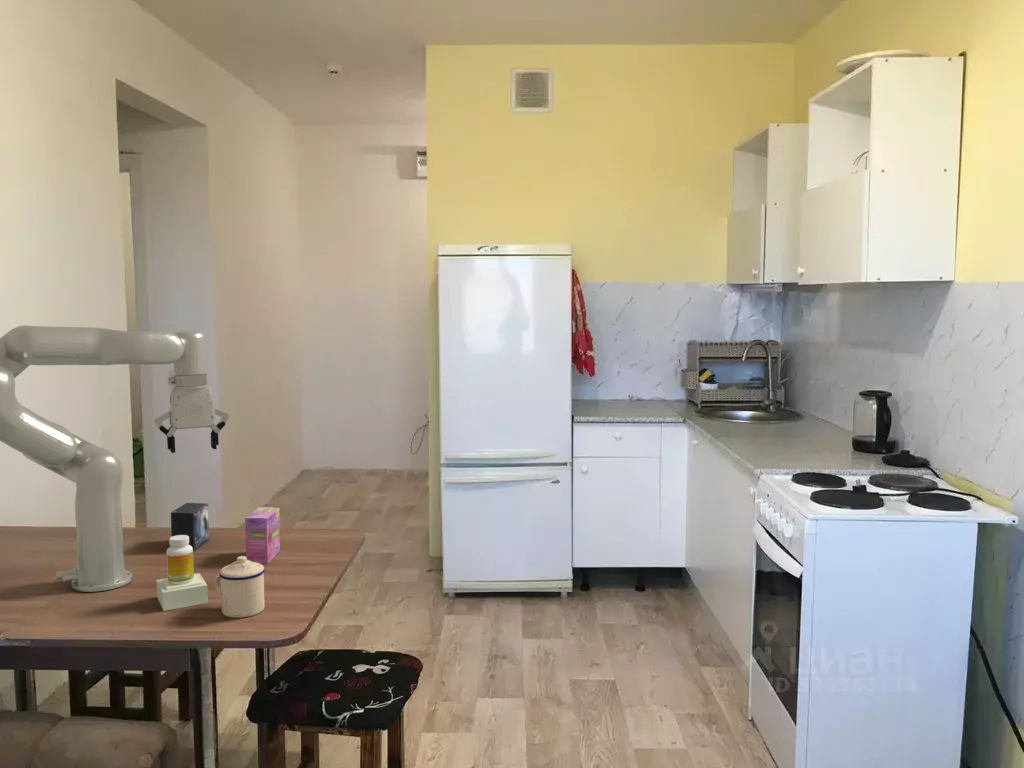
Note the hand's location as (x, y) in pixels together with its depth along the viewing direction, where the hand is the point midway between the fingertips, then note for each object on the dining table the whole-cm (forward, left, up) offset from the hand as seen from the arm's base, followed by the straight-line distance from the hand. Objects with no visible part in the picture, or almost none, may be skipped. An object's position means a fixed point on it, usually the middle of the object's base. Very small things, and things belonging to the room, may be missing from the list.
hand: (193, 450), depth 205 cm
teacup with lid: (+1, -38, -28) cm, 47 cm away
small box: (+1, +15, -29) cm, 32 cm away
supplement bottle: (-8, -26, -24) cm, 36 cm away
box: (+15, -5, -29) cm, 33 cm away
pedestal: (-8, -26, -28) cm, 39 cm away
